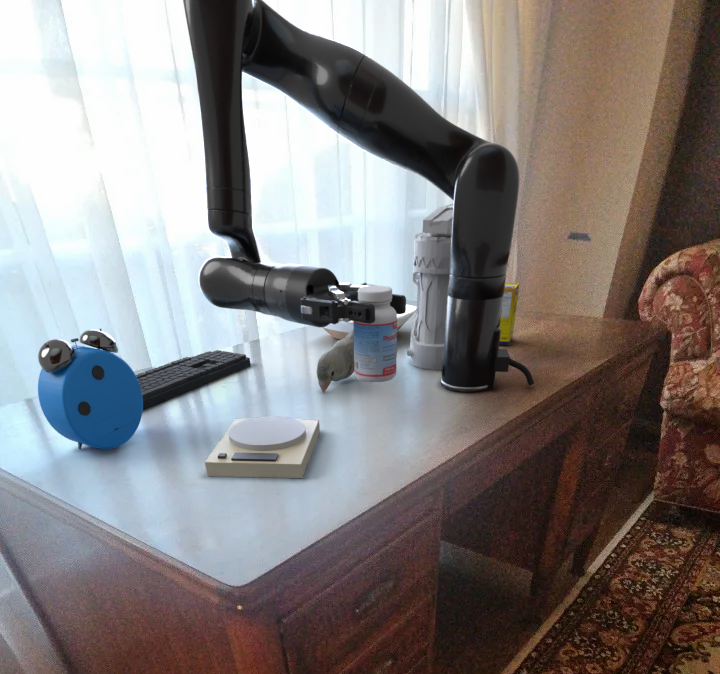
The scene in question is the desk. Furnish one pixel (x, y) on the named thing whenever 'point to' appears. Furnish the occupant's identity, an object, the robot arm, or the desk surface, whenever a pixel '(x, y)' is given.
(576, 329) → the desk surface
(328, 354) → the decorative bird
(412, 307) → the bowl
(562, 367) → the desk surface
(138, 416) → the alarm clock
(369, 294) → the pill bottle
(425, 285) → the lantern
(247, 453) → the scale
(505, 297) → the supplement box
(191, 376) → the keyboard
